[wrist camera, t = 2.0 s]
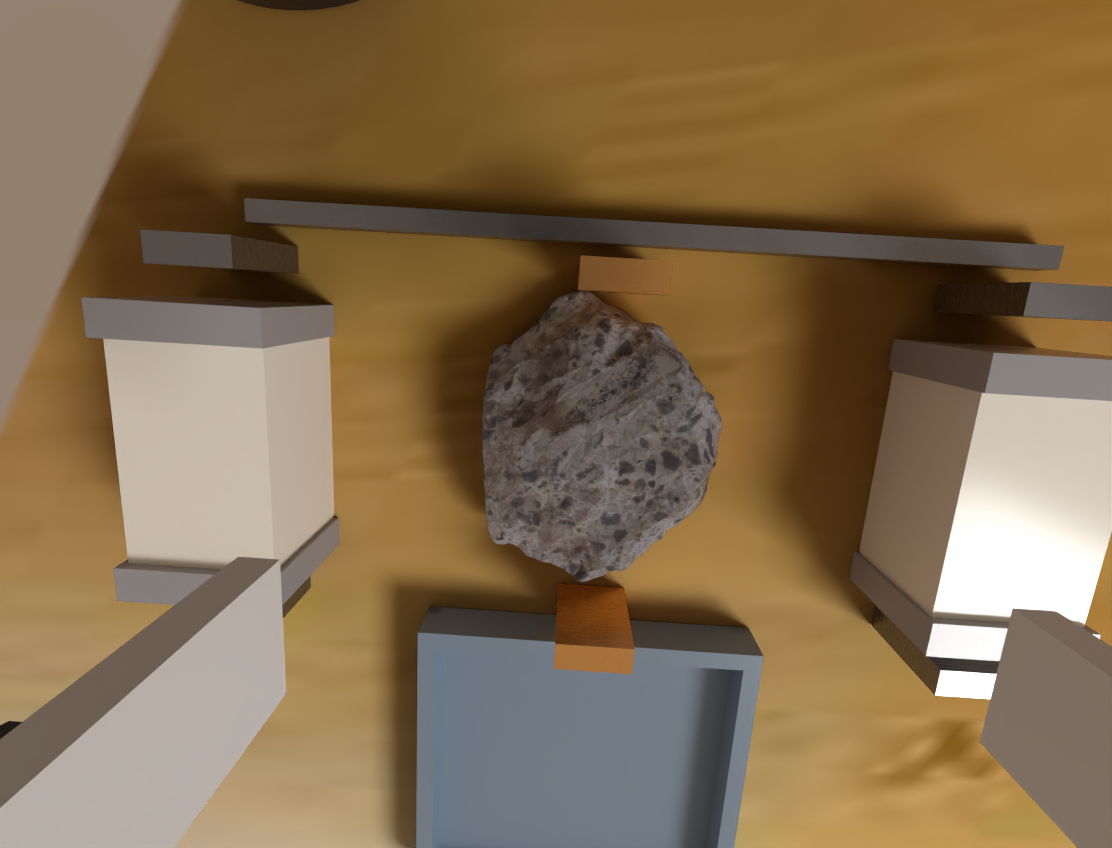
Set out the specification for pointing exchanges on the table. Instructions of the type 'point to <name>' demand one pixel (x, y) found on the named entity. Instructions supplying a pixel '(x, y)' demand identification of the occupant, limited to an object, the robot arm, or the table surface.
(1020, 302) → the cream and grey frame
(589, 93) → the table surface
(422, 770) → the tray
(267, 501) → the fuse
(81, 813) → the robot arm
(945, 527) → the fuse
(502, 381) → the rock
